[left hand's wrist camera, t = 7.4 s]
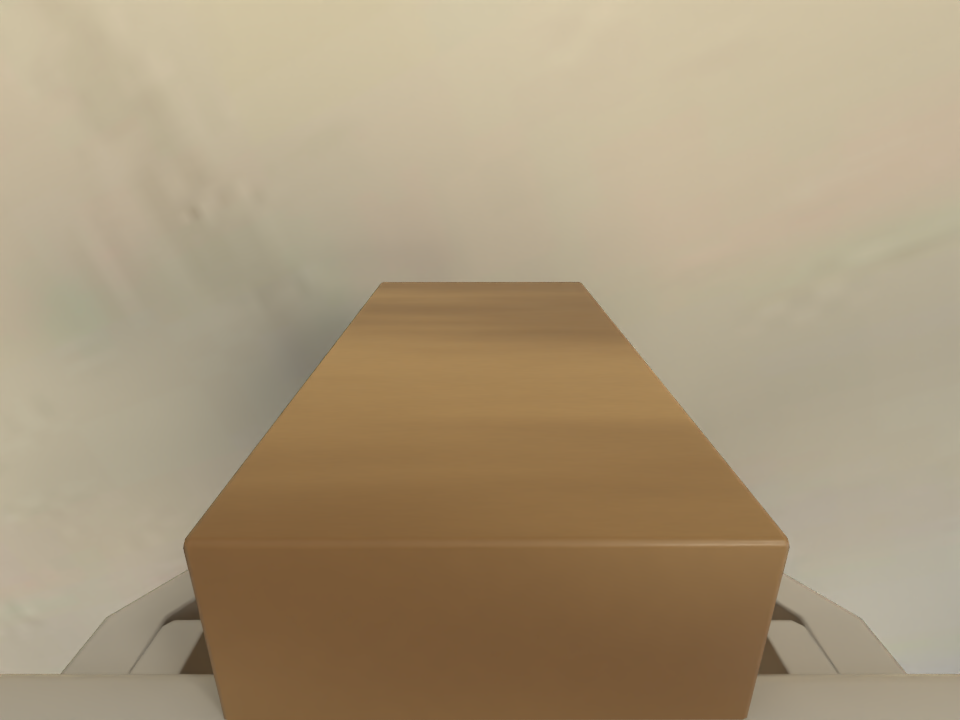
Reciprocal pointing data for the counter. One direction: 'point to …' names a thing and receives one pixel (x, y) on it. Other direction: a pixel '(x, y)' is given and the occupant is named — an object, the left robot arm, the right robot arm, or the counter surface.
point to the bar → (485, 529)
